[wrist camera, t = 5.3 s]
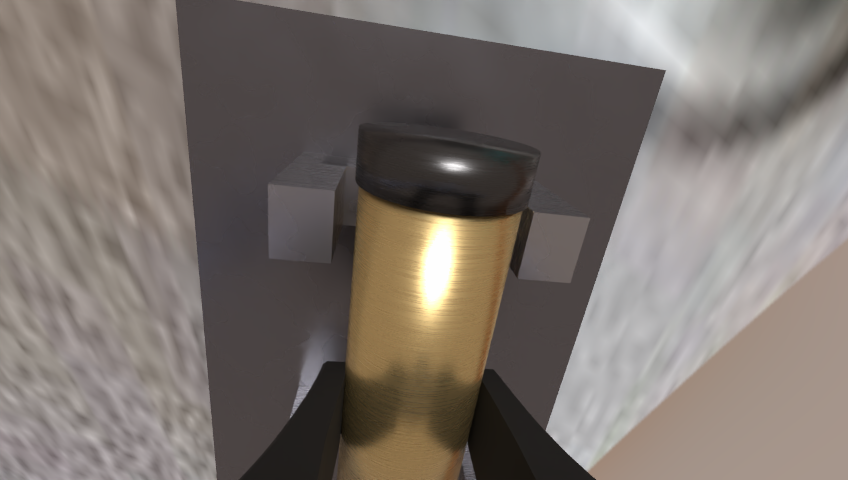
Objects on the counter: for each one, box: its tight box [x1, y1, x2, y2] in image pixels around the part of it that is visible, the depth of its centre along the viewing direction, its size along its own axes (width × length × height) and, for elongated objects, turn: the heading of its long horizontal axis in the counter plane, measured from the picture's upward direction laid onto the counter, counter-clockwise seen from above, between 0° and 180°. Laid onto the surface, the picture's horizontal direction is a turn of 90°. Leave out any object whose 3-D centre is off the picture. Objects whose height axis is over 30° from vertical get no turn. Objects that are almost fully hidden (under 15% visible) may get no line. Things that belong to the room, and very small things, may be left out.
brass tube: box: [337, 122, 541, 480], centre depth 12 cm, size 16×4×4 cm, turn 172°
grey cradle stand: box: [176, 0, 666, 480], centre depth 15 cm, size 21×16×6 cm
